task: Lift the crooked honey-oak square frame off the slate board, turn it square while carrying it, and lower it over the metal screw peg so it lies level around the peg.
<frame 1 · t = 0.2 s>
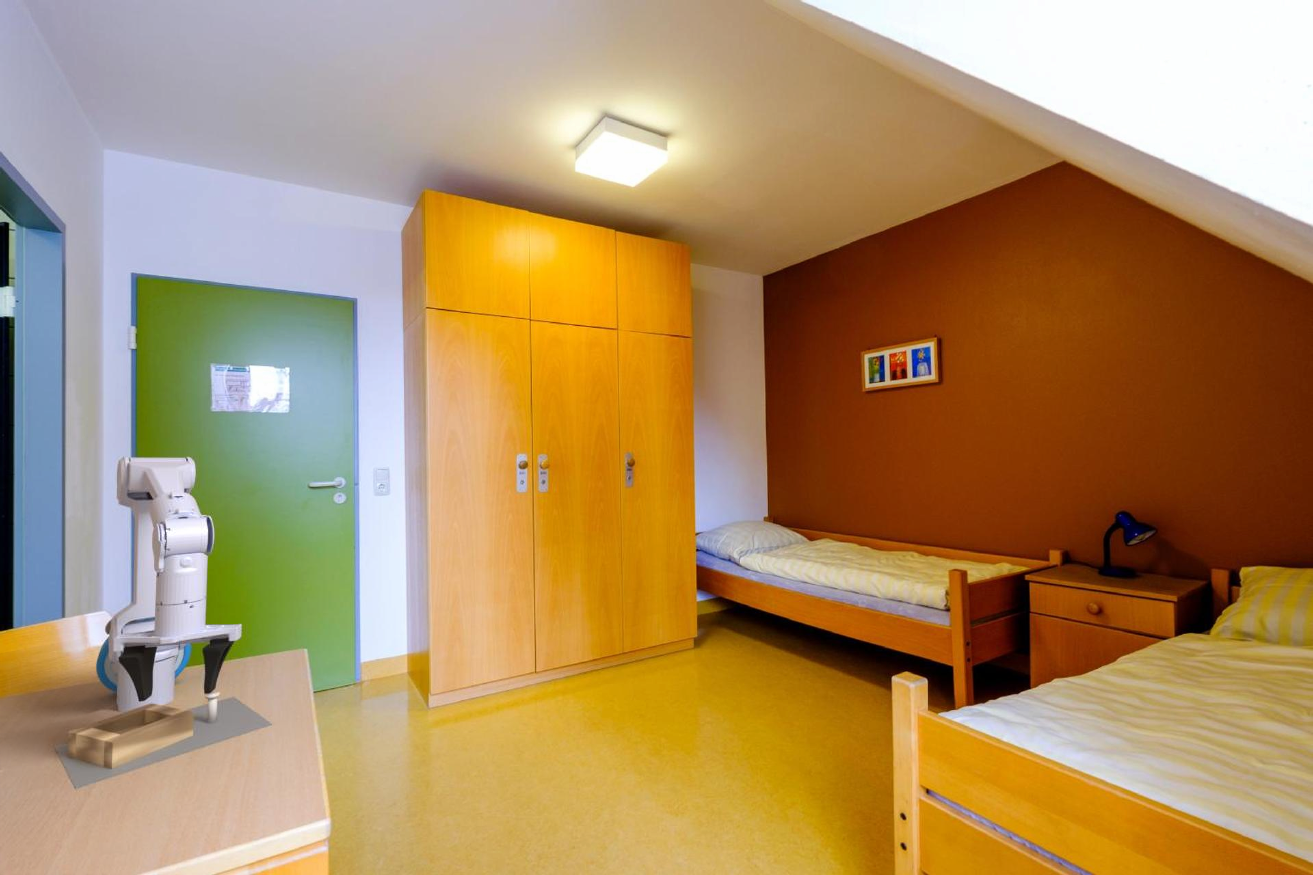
hand: (178, 694, 81), 9 cm above the table, tool pointing down, fingers open, 7 cm apart
oak frame: (132, 745, 83), point 1 cm above the table, touching slate board
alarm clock: (144, 691, 106), on the table
slate board: (167, 742, 86), on the table
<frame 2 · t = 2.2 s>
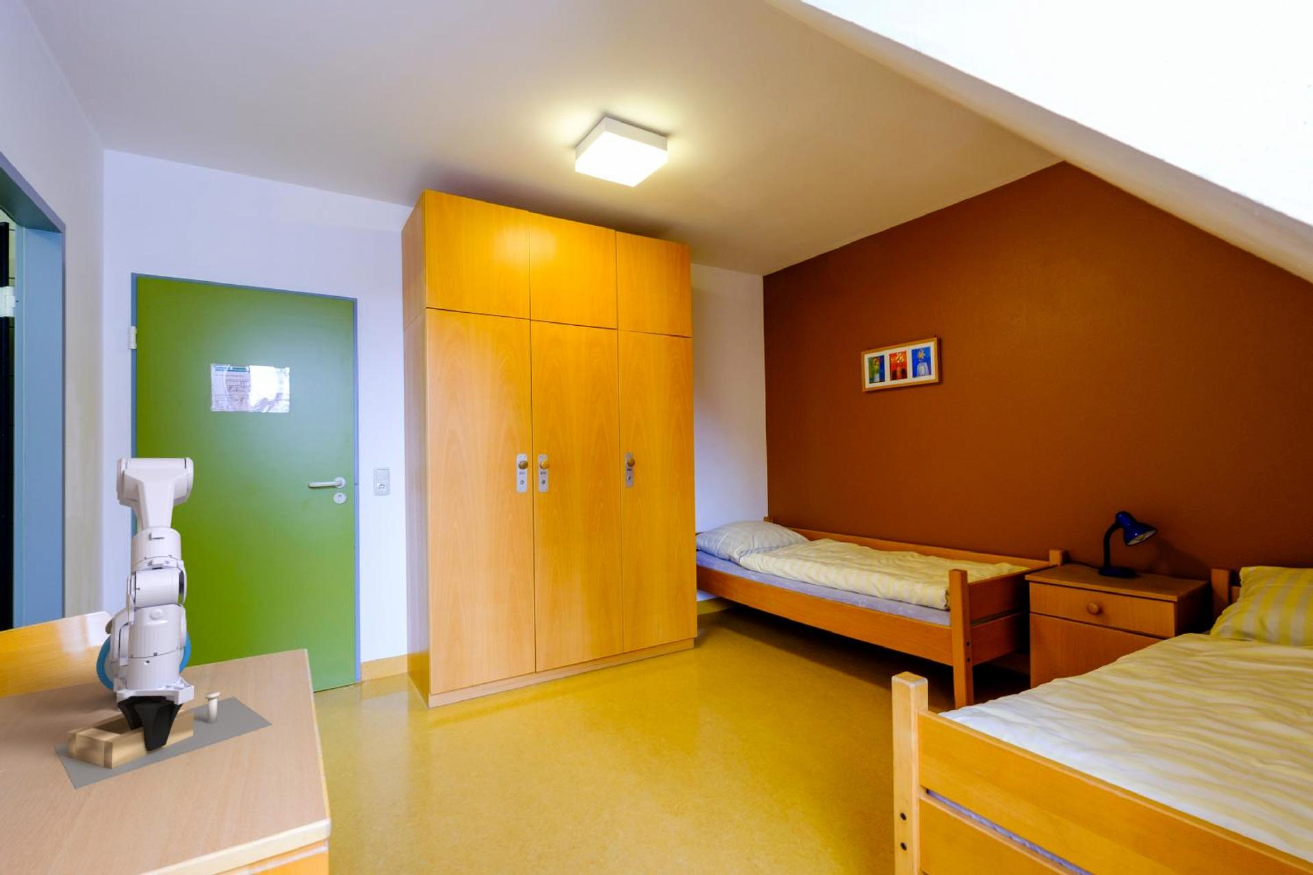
hand: (151, 746, 81), 2 cm above the table, tool pointing down, fingers closed on oak frame, 2 cm apart
oak frame: (132, 745, 83), point 1 cm above the table, touching gripper, slate board
everything else where it was.
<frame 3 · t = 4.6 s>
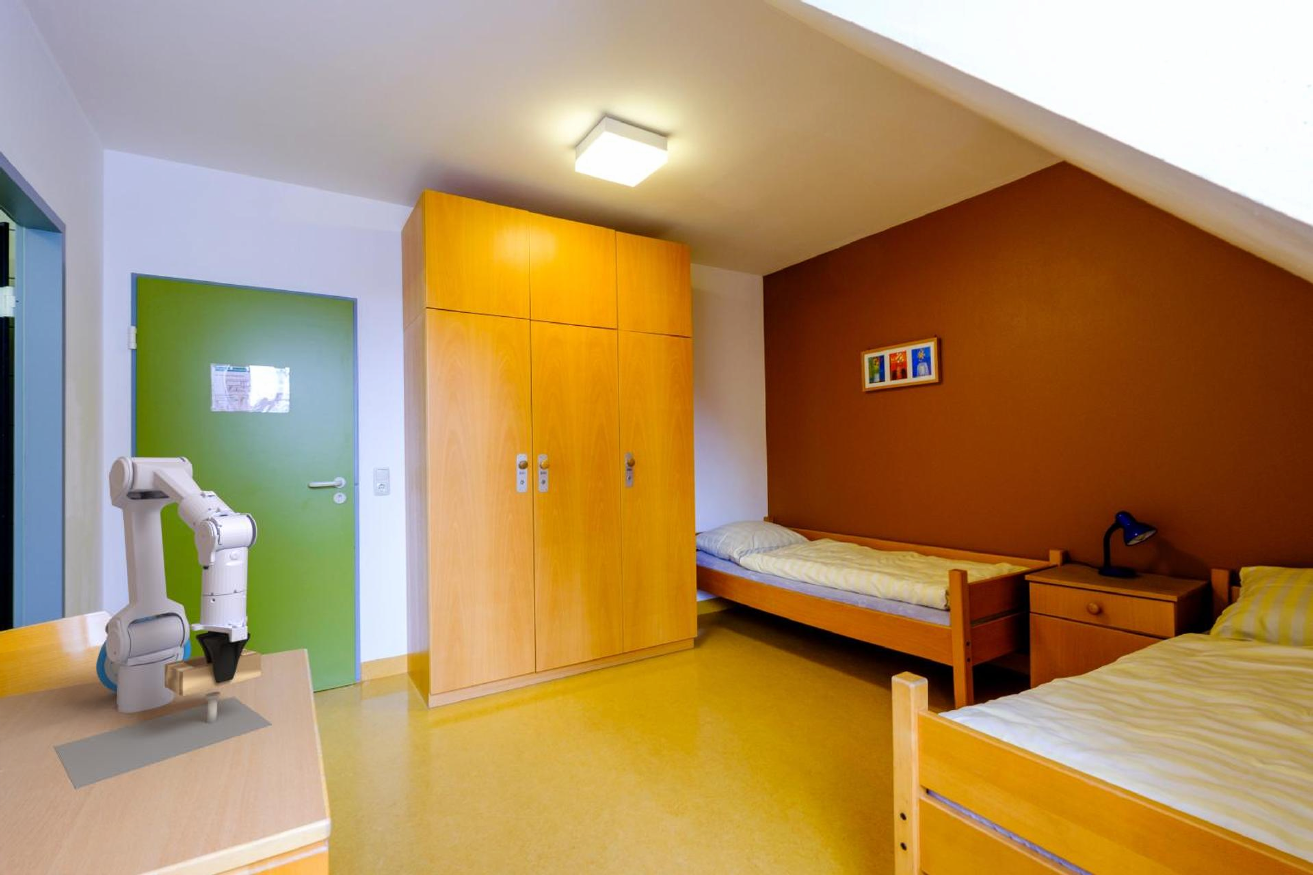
hand: (221, 678, 88), 9 cm above the table, tool pointing down, fingers closed on oak frame
oak frame: (213, 680, 90), point 8 cm above the table, touching gripper
everything else where it was.
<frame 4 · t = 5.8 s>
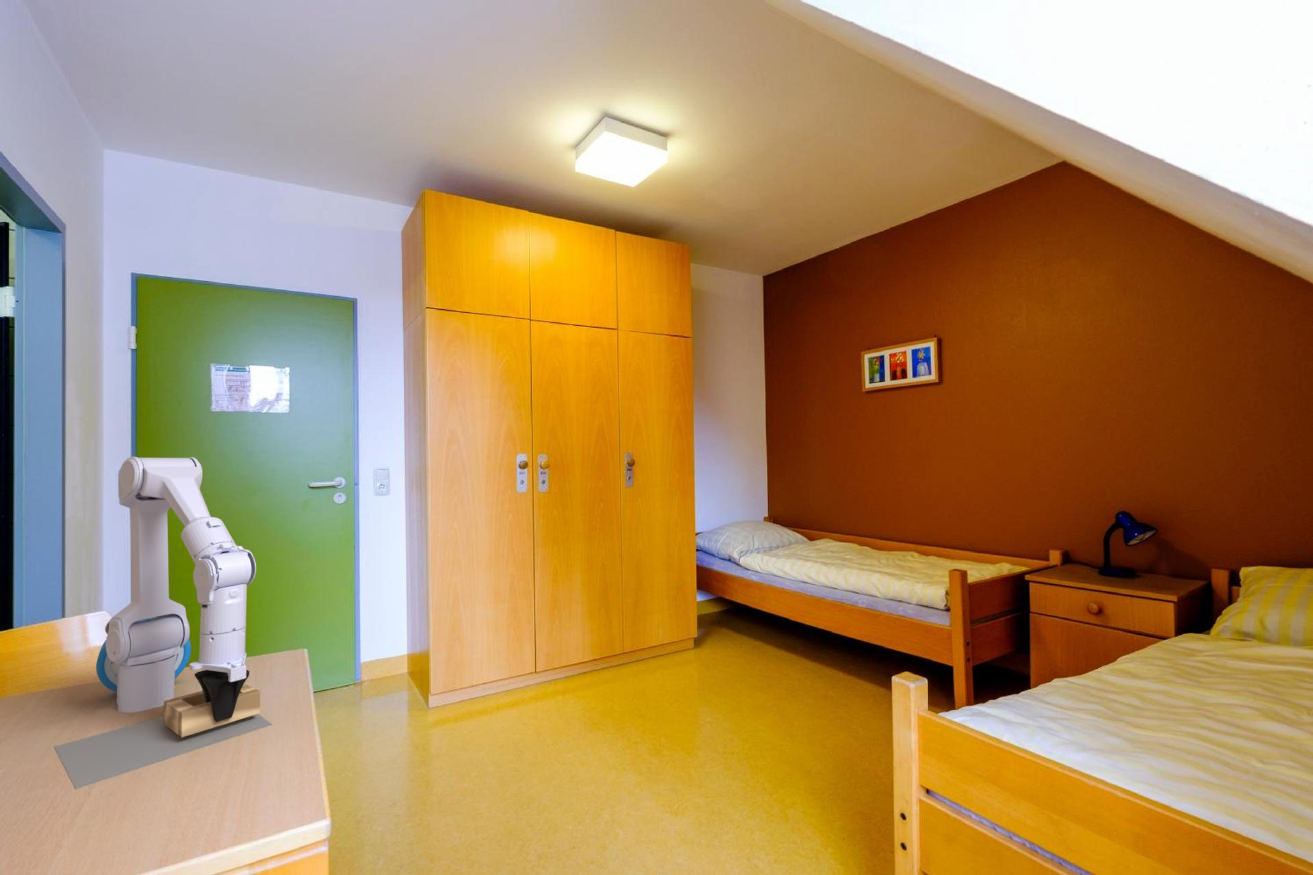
hand: (220, 716, 88), 3 cm above the table, tool pointing down, fingers closed on oak frame, 2 cm apart
oak frame: (212, 718, 90), point 2 cm above the table, touching gripper
everything else where it was.
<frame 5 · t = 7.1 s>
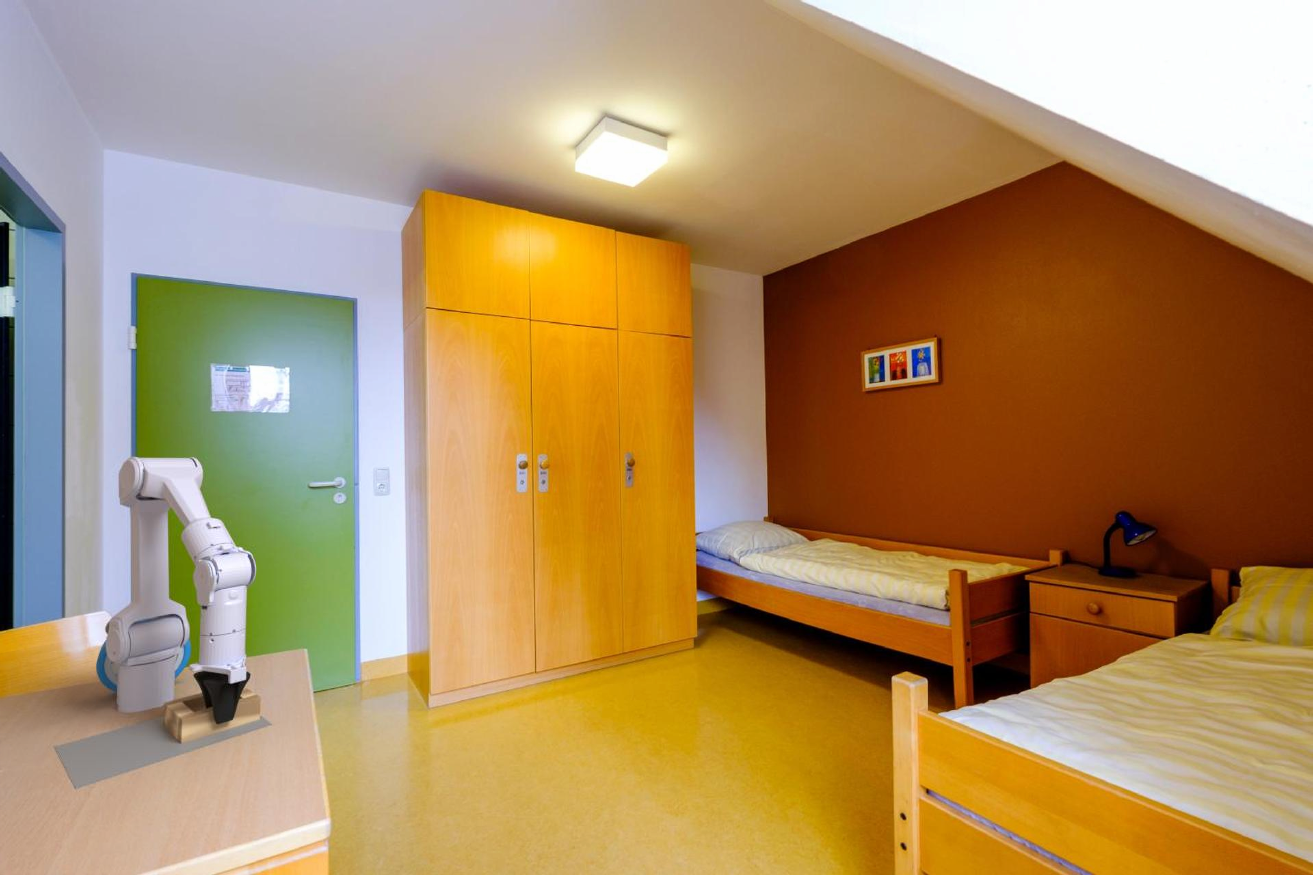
hand: (220, 718, 88), 3 cm above the table, tool pointing down, fingers open, 3 cm apart
oak frame: (212, 721, 90), point 1 cm above the table, touching slate board
everything else where it was.
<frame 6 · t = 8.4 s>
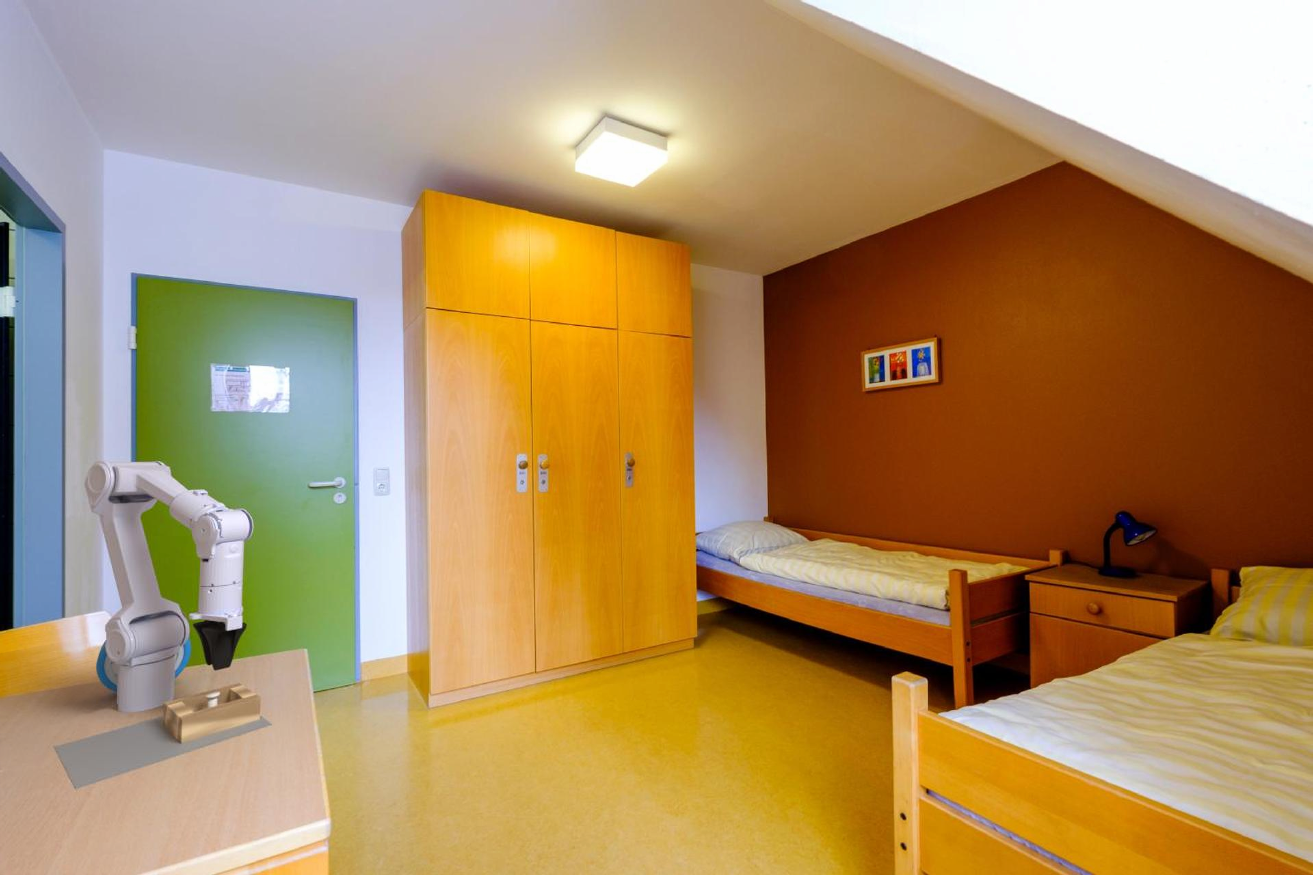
hand: (218, 665, 93), 9 cm above the table, tool pointing down, fingers open, 3 cm apart
nothing on the table moved.
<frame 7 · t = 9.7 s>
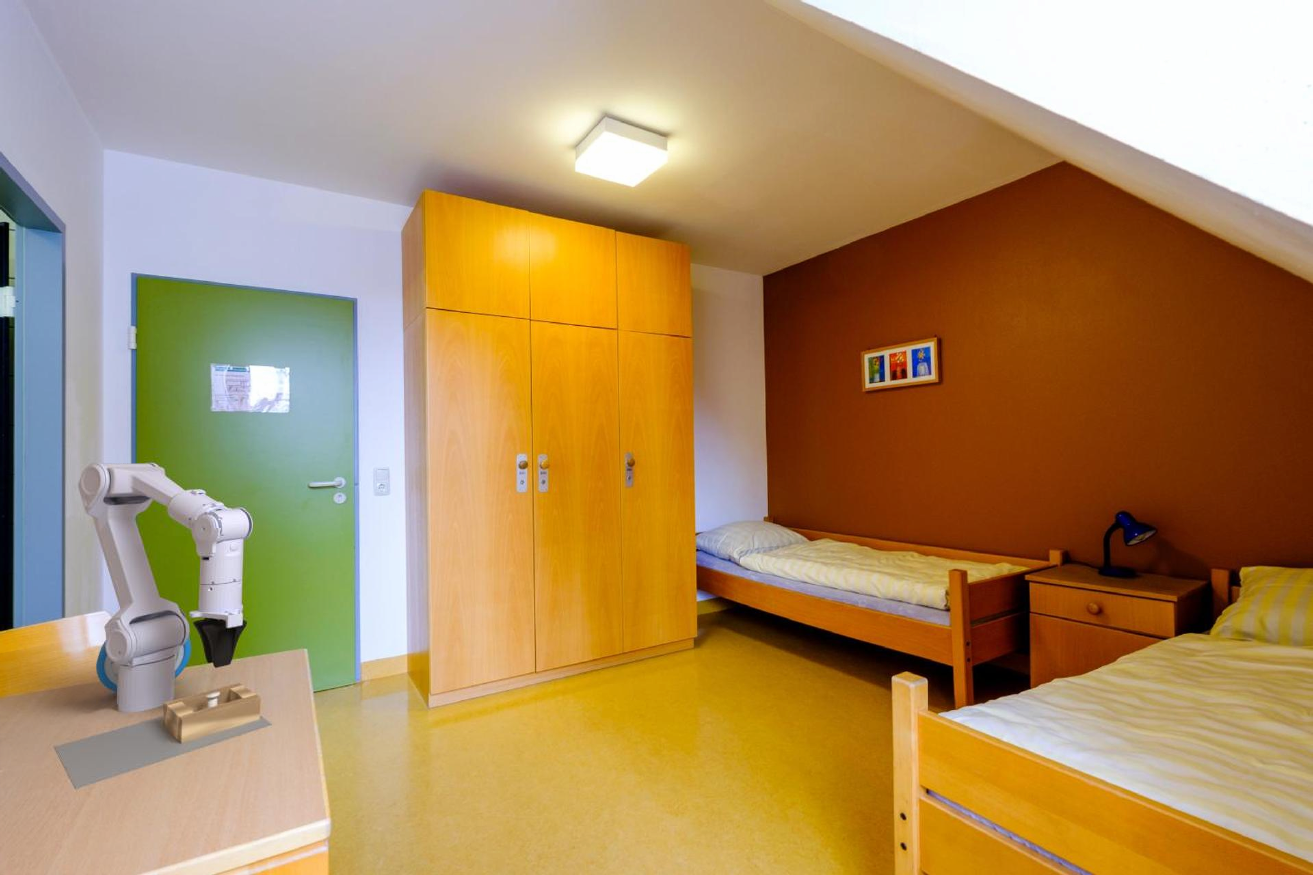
hand: (218, 663, 94), 9 cm above the table, tool pointing down, fingers open, 3 cm apart
nothing on the table moved.
at the end: oak frame 0.1 cm from the target spot, point 1.2 cm above the table; oak frame tilted 0°; the gripper is holding nothing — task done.
